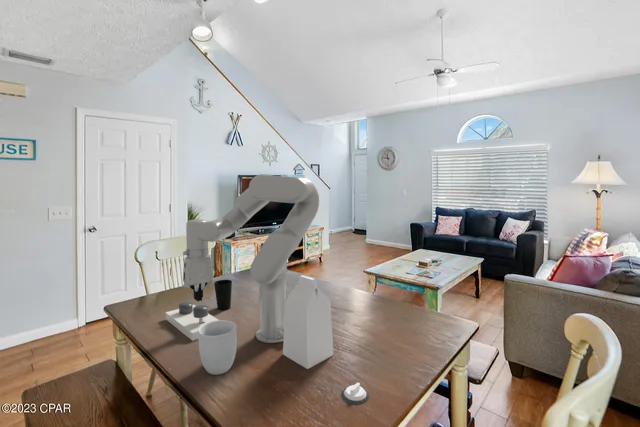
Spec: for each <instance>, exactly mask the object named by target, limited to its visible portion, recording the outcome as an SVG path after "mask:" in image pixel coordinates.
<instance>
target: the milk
mask: <svg viewBox="0 0 640 427" xmlns="http://www.w3.org/2000/svg"><path fill="white" fill-rule="evenodd" d="M331 303H332V302H331V299H330V298H329V296H327V295H326V294H325V293H324V292H323V291H322V290H321V289H320V288H319V287H318V284H317V280H316V278H314V277H310V276H307V275H299V278H298V280H297V283H296V285H295V286H294V288H292V289H291V291H290V293H288V295H287V296H286V300H285V315H284V341H282V342H283V345H282V347H283V348H282V355H283V356H284V357H287V358H288V359H289V360H291V361H294V362H295V363H297V364H298V365H300V366H302V367H303V368H305V369H307V370H309V369H310V368H312V367H314V366H315V365H316V366H317V365H318V364H320V363H321V362H323V361H325V360H327V359H328V358H331V357H332V356H334V341H333V340H334V338H333V323H332V322H333V320H332V307H331V306H332V304H331Z"/></svg>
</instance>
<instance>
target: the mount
mask: <svg viewBox="0 0 640 427" xmlns="http://www.w3.org/2000/svg"><path fill="white" fill-rule="evenodd" d="M195 306H196V305H195V304H193V308H194V307H195ZM165 320H166V321H167V322H169V323H170V324H171V325H172V326H174V327H175V328H176V329H177V330H178V331H180V332H181V333H182V334H183V335H185V336H186V338H189V340H191V341H192V342H194V341H196V340H197V341H198V340H199V339H198V338H199V336H198V331H199V328H200V327H201V326H203V325H204V324H206V323H209V322H212V321H218V320H219V319H218V318H216V317H215V316H213V315H212V314H210V313H208V315H207V316H206V317H203V323H201V324H200V323H199V318H195V317H194V316H193V311H192V312H190V313H187V314H181V313H179V308H177V309H173V310H169V311H166V312H165Z"/></svg>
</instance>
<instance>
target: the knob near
mask: <svg viewBox="0 0 640 427" xmlns="http://www.w3.org/2000/svg"><path fill="white" fill-rule="evenodd" d="M208 307H209V306H208V305H206V304H199V305H195V307H194V308H193V316H194V317H195V318H199V323H200V324H201V323H203V317H206V316H207V315H208V314H209V308H208Z"/></svg>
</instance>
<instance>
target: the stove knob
mask: <svg viewBox="0 0 640 427" xmlns="http://www.w3.org/2000/svg"><path fill="white" fill-rule="evenodd" d="M341 398H342V399H343V400H344V401H345V403H348V404H351V405H354V406H355V405H362V404H365V403H366V402H367V401H368V400H369V398H370V395H369V393H368V391H367V390H366V389H364V387H362V386H361V383H360V382H359V381H358V382H356V383H355V384H353V385H349V386H347V387H346V388H344V389H343V390H342V391H341Z"/></svg>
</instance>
